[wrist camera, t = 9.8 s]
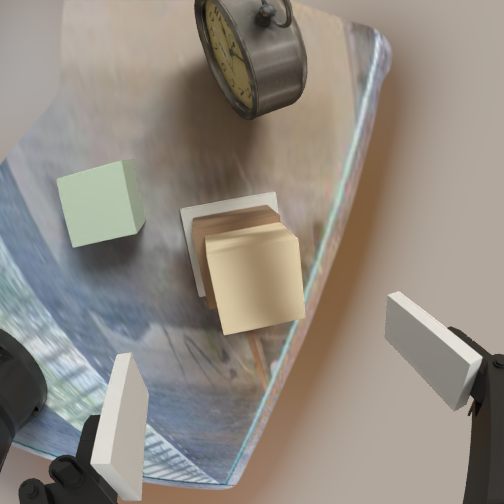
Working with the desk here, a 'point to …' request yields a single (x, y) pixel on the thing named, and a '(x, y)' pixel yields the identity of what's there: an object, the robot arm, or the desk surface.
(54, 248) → the desk surface
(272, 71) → the alarm clock
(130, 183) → the sage brick
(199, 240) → the walnut brick
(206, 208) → the mat
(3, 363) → the robot arm
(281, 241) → the maple brick
